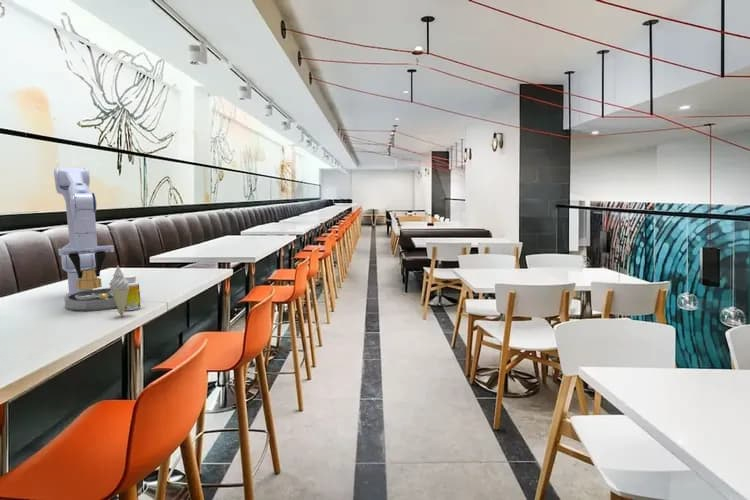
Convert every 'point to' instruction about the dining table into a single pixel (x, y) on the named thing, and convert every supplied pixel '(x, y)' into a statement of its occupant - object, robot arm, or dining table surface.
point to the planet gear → (89, 279)
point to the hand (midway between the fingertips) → (88, 277)
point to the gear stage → (90, 300)
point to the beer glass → (132, 294)
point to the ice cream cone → (119, 289)
